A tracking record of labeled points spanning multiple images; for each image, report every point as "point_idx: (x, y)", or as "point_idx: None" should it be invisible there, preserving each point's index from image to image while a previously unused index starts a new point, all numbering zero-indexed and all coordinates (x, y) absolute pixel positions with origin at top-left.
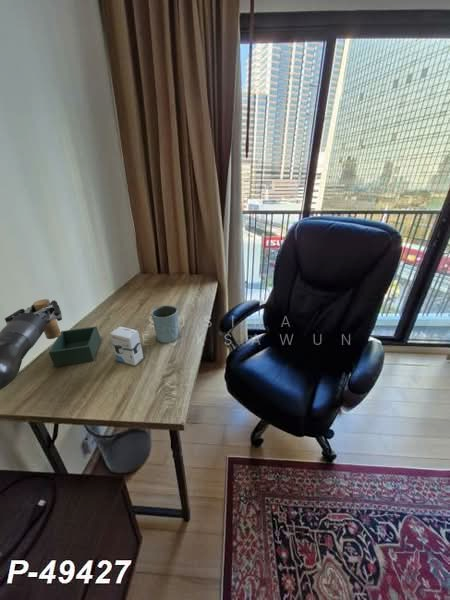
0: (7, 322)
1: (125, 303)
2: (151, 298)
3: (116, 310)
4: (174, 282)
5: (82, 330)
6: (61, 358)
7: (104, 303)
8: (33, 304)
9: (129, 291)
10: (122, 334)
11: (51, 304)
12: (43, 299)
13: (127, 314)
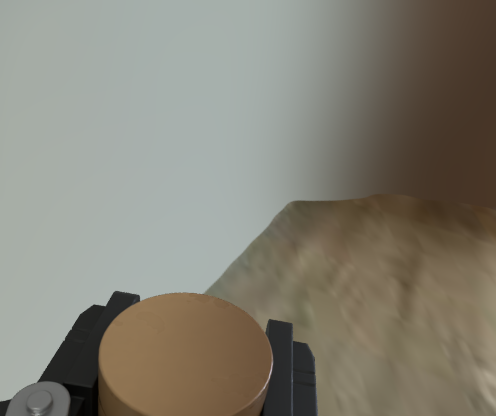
0: None
1: (342, 259)
2: (429, 266)
3: (320, 284)
4: (474, 219)
5: None
6: None
7: (269, 235)
8: (102, 370)
9: (338, 210)
10: None
11: (292, 410)
12: (202, 296)
13: (370, 321)
